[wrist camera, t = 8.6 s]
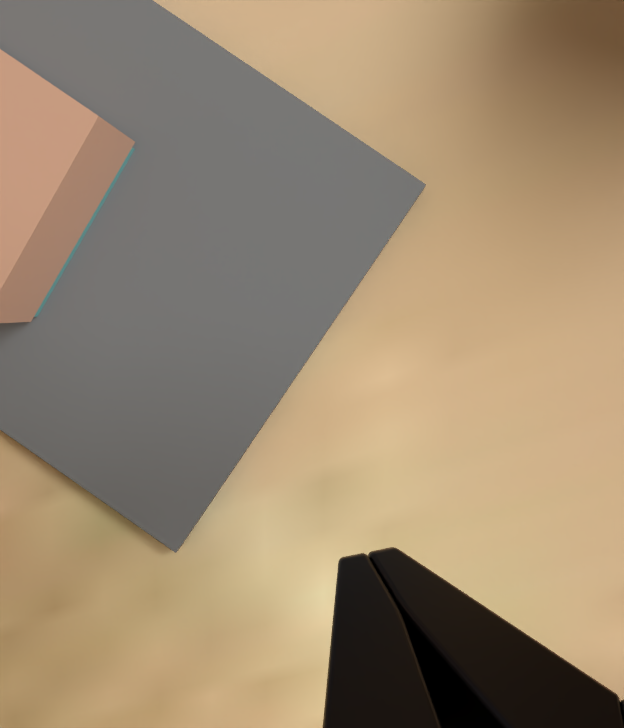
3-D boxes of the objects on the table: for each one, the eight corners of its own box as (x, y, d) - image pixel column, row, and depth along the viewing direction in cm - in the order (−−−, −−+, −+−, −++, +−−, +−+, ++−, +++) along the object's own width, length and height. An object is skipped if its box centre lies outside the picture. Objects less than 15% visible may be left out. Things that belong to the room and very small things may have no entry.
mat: (424, 188, 17) (426, 184, 17) (181, 545, 20) (175, 552, 19) (-77, -149, 18) (-92, -164, 17) (-259, 237, 20) (-278, 234, 19)
